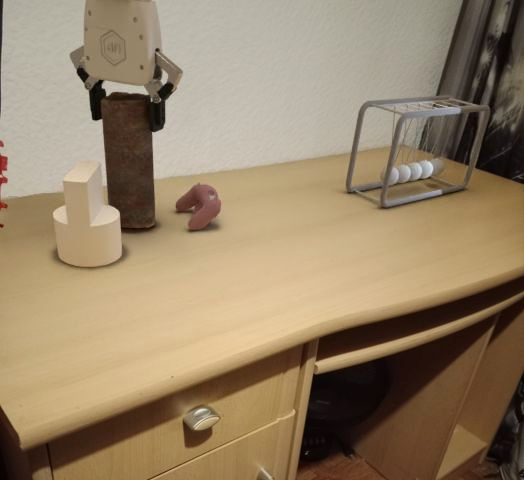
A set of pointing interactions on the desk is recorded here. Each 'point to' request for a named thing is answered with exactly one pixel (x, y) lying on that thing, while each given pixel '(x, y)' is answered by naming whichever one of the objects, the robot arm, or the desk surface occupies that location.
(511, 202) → the desk surface
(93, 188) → the base with upright slab
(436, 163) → the newton's cradle
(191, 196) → the video game controller
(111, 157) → the rusty brown cylinder
